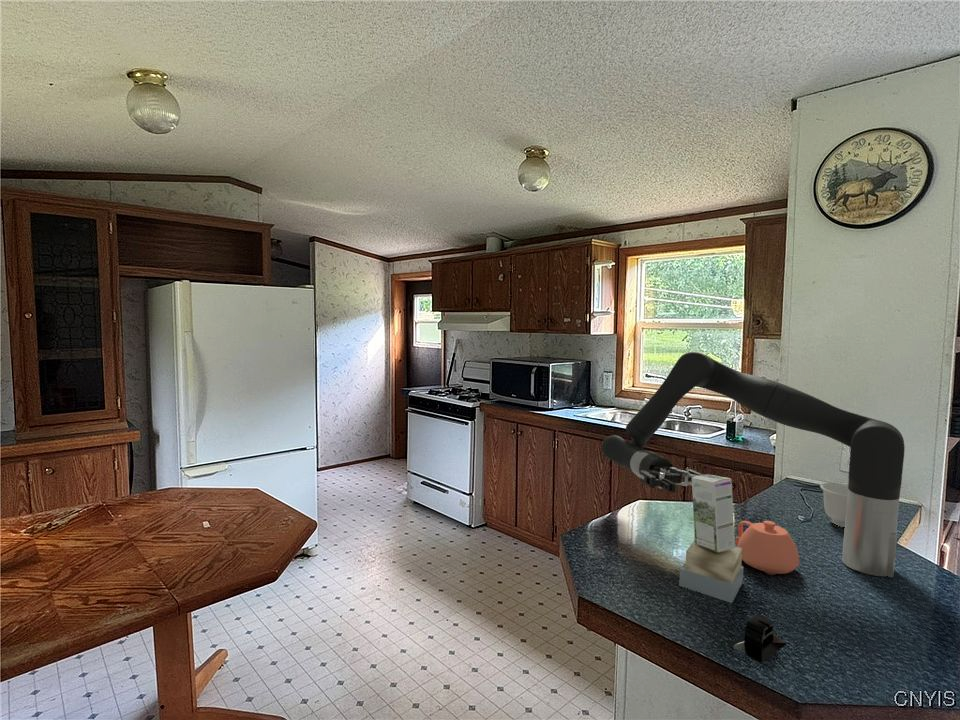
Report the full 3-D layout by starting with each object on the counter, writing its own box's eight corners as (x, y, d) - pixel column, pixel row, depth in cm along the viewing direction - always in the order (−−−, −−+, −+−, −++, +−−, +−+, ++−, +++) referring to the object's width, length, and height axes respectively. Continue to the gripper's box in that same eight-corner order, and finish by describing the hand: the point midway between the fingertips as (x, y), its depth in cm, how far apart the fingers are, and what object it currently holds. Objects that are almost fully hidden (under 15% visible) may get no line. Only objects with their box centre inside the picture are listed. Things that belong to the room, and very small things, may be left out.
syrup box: (736, 548, 105) (733, 477, 106) (716, 553, 102) (713, 481, 103) (712, 540, 110) (709, 473, 111) (693, 545, 108) (690, 476, 108)
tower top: (741, 566, 107) (742, 548, 107) (732, 583, 100) (734, 564, 99) (696, 554, 112) (697, 536, 112) (685, 569, 105) (686, 550, 105)
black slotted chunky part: (761, 673, 80) (764, 645, 80) (717, 647, 86) (719, 621, 86) (797, 645, 88) (799, 620, 87) (754, 624, 93) (756, 600, 93)
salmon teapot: (776, 584, 107) (779, 537, 106) (717, 556, 120) (720, 514, 119) (810, 572, 113) (813, 527, 112) (751, 547, 125) (754, 506, 124)
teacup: (867, 519, 145) (870, 485, 145) (873, 537, 133) (876, 500, 132) (816, 510, 152) (819, 477, 151) (817, 526, 139) (820, 490, 138)
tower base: (742, 585, 107) (743, 566, 107) (731, 605, 99) (733, 585, 99) (692, 569, 113) (693, 552, 113) (679, 587, 106) (680, 569, 105)
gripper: (627, 454, 130) (663, 473, 114) (676, 452, 133) (718, 470, 118) (625, 482, 131) (662, 505, 115) (674, 480, 134) (716, 502, 118)
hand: (690, 487), depth 116 cm, fingers open, 8 cm apart
